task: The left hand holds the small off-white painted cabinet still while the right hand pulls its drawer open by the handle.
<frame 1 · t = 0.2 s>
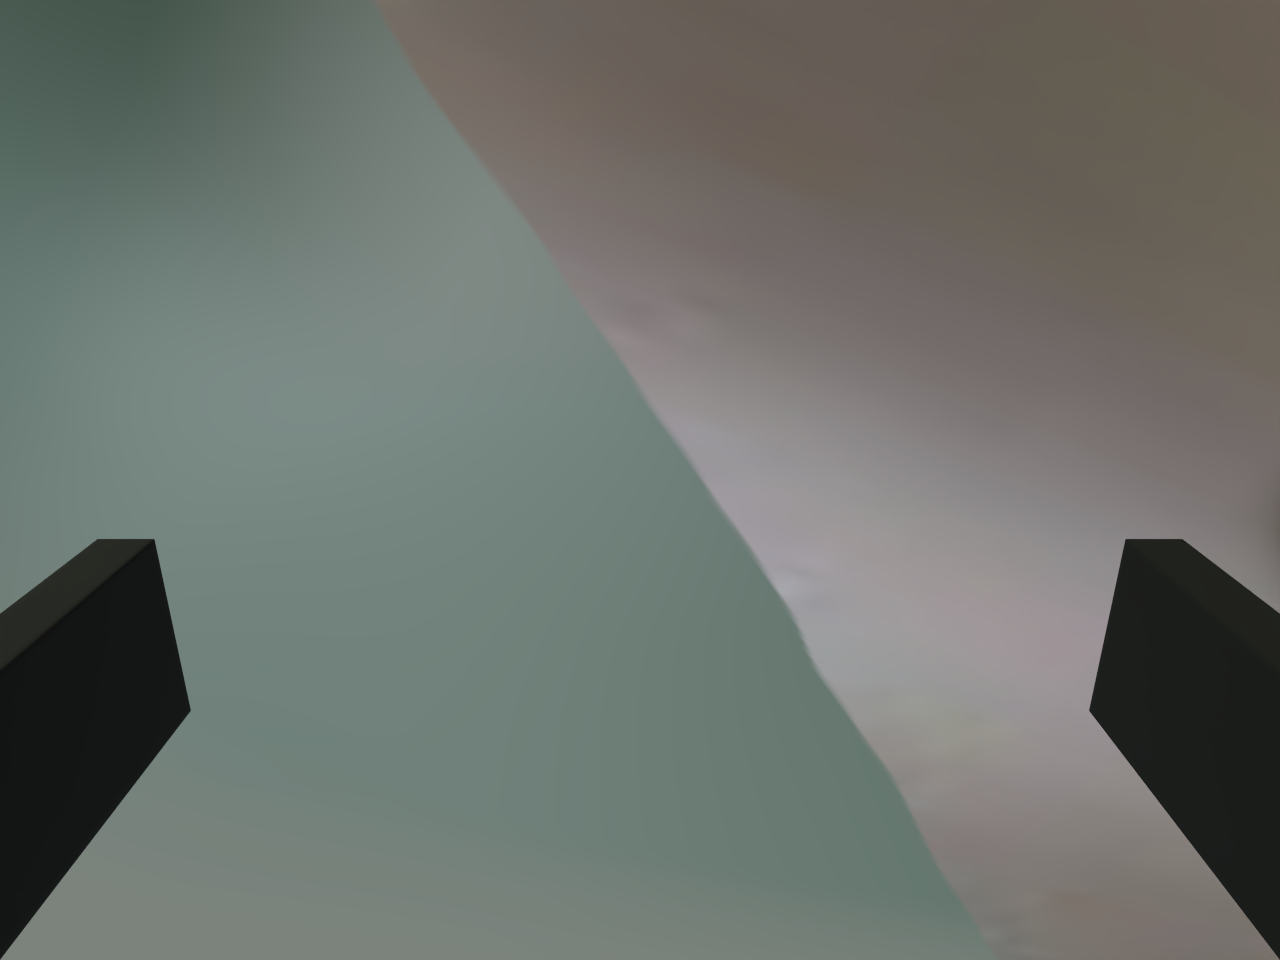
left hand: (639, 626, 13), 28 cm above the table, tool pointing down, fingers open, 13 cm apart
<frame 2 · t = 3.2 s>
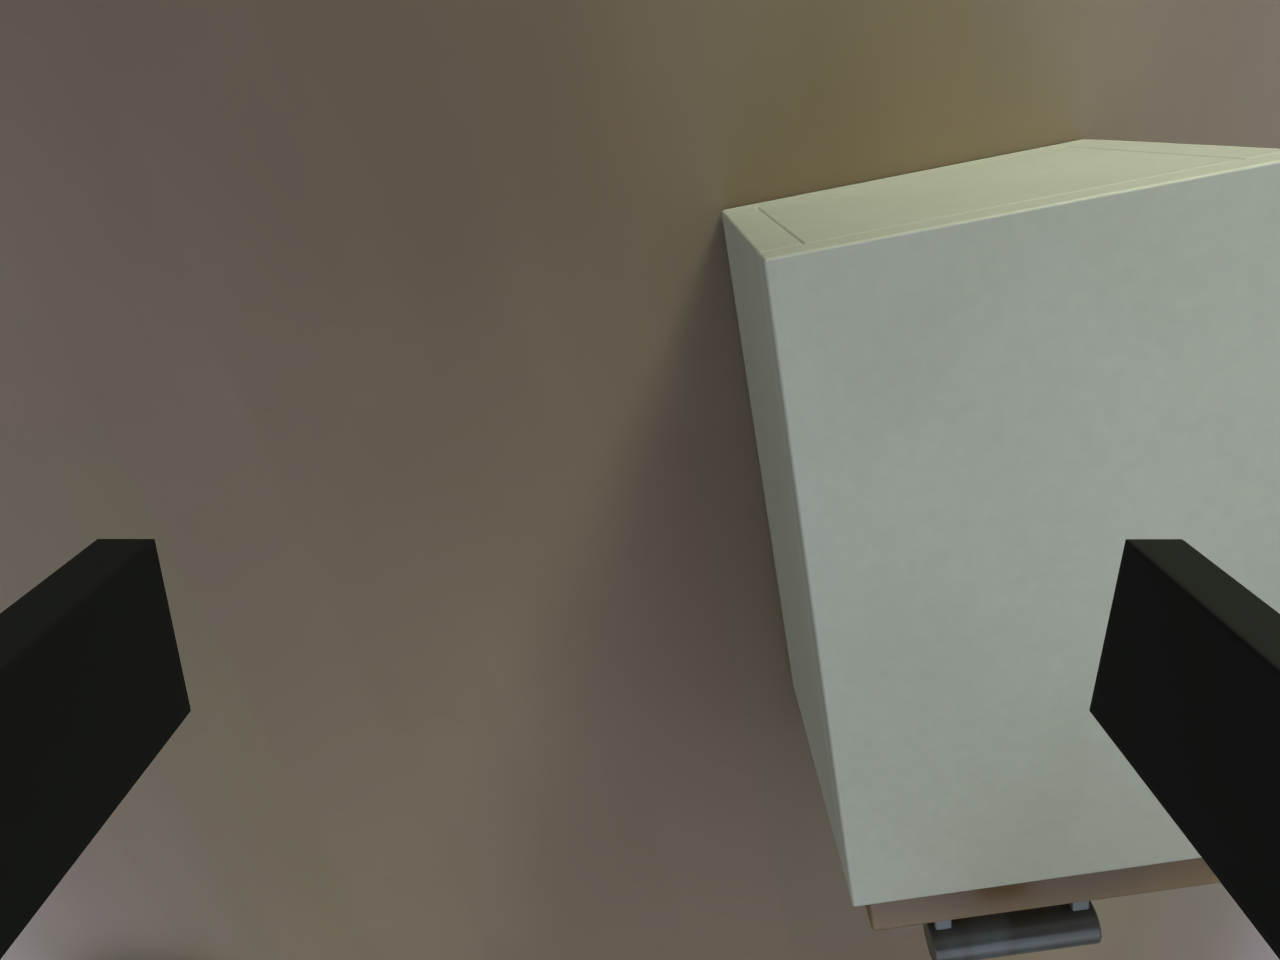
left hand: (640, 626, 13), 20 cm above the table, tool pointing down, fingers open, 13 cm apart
drawer: (984, 661, 29), point 6 cm above the table, slide at 1.0 cm
cabinet: (922, 443, 33), on the table
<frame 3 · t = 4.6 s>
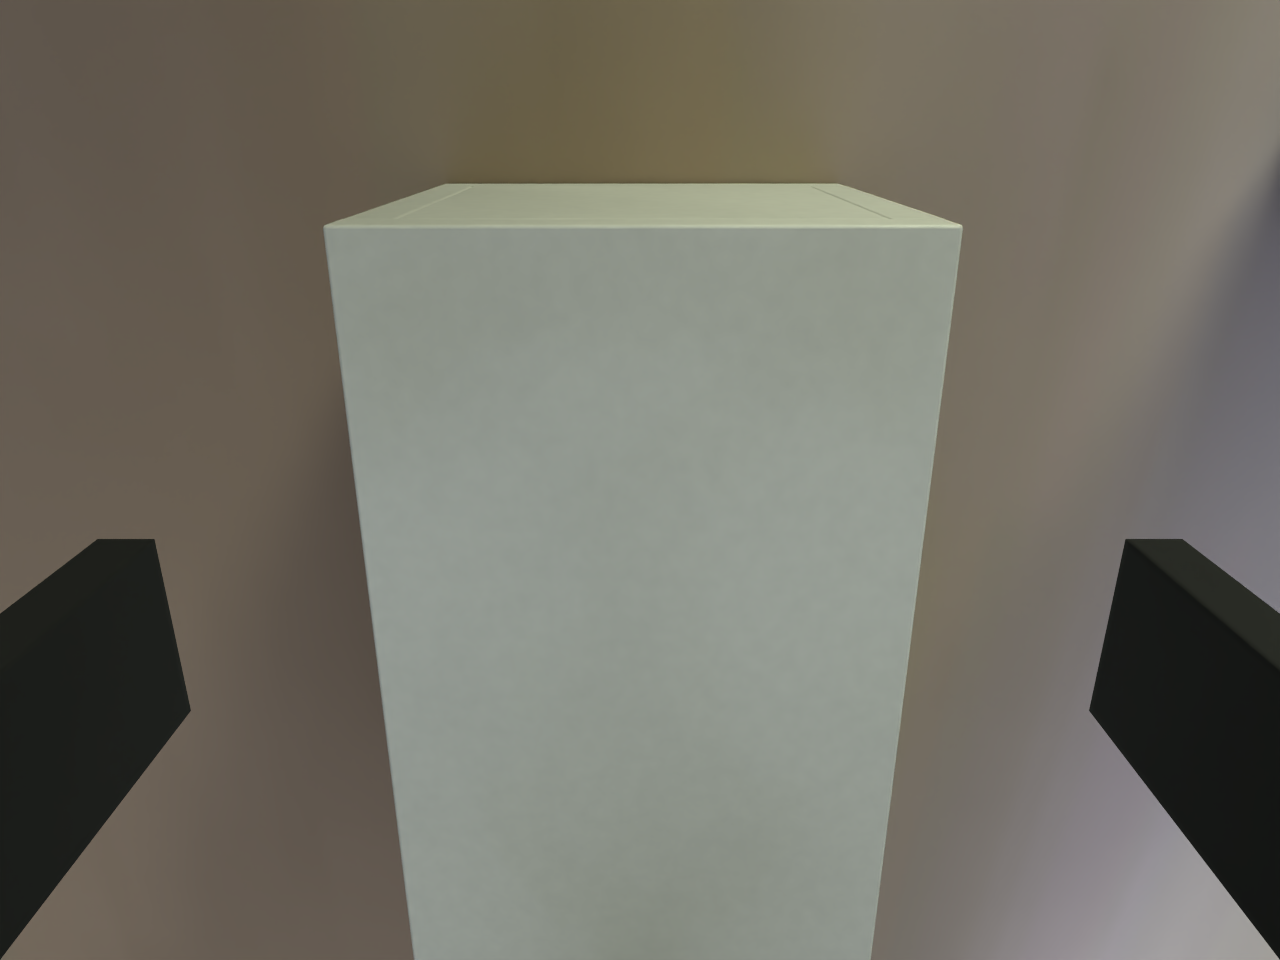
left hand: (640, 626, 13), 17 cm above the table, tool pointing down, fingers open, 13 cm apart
cabinet: (641, 478, 30), on the table
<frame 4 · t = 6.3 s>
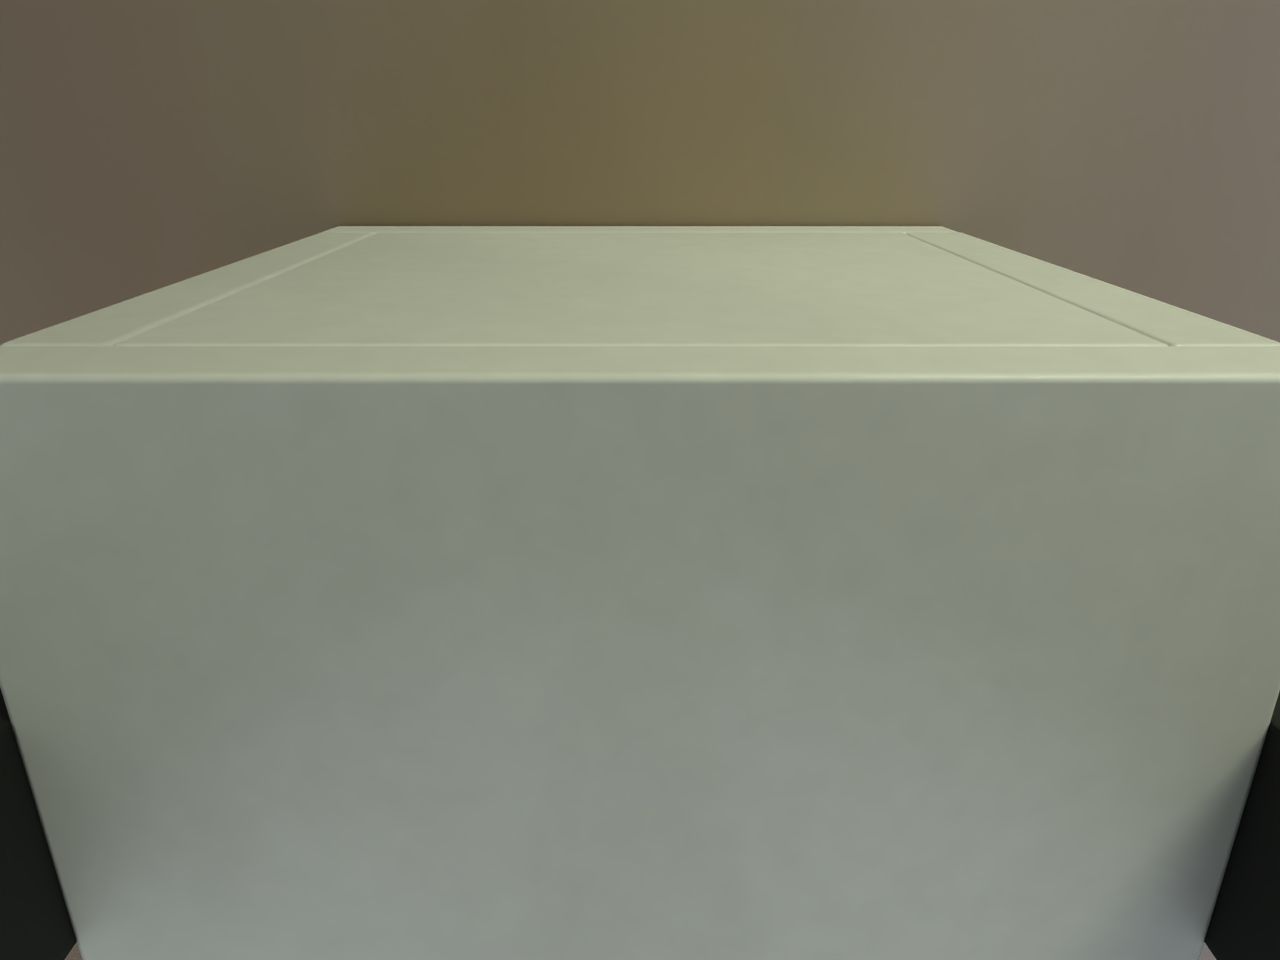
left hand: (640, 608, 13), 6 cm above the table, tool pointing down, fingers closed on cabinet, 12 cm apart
cabinet: (640, 645, 21), on the table, touching left hand
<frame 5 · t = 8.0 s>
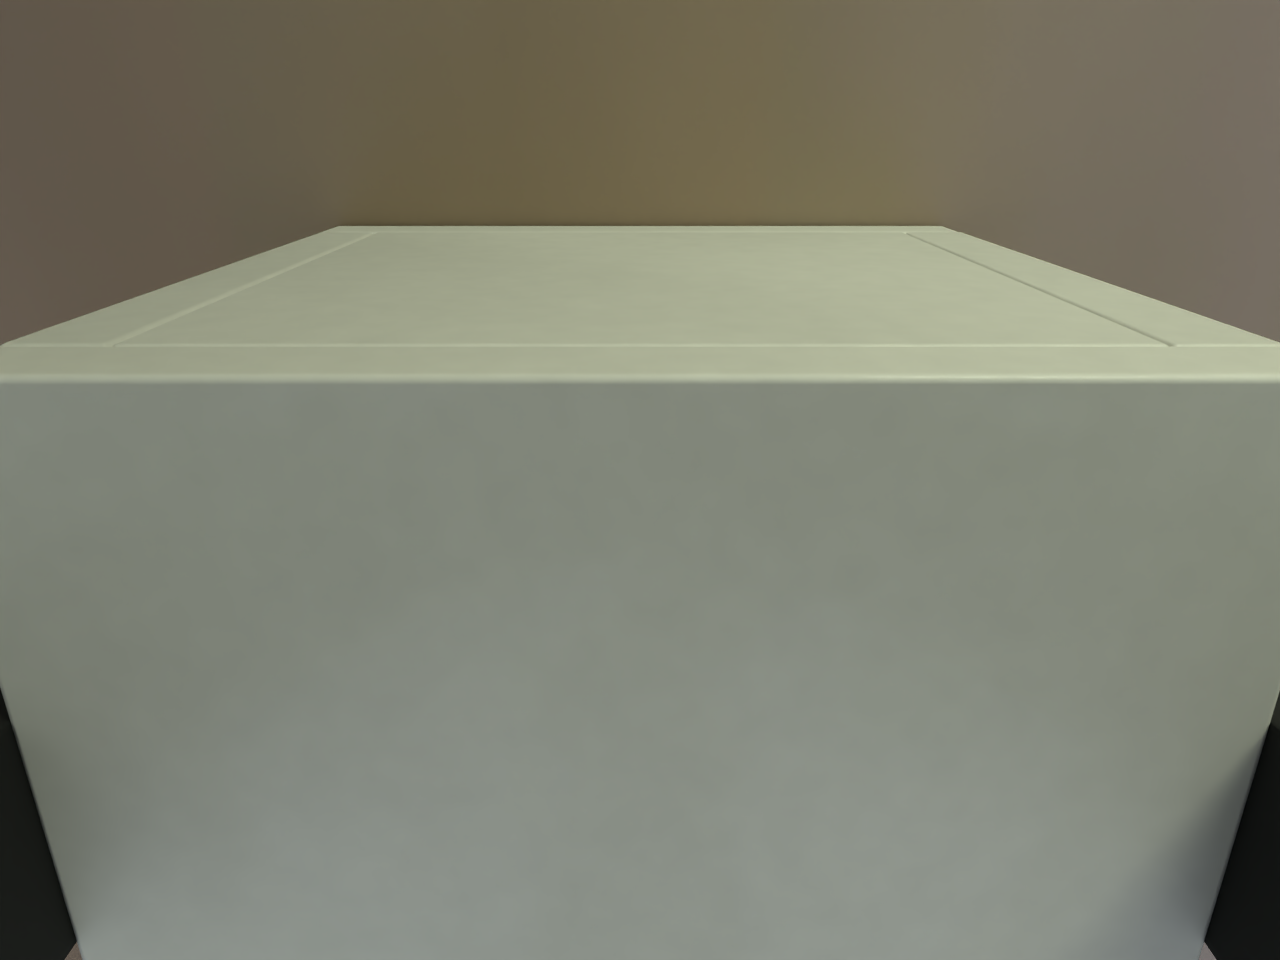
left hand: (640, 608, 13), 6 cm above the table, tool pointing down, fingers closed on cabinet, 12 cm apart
cabinet: (640, 645, 21), on the table, touching left hand
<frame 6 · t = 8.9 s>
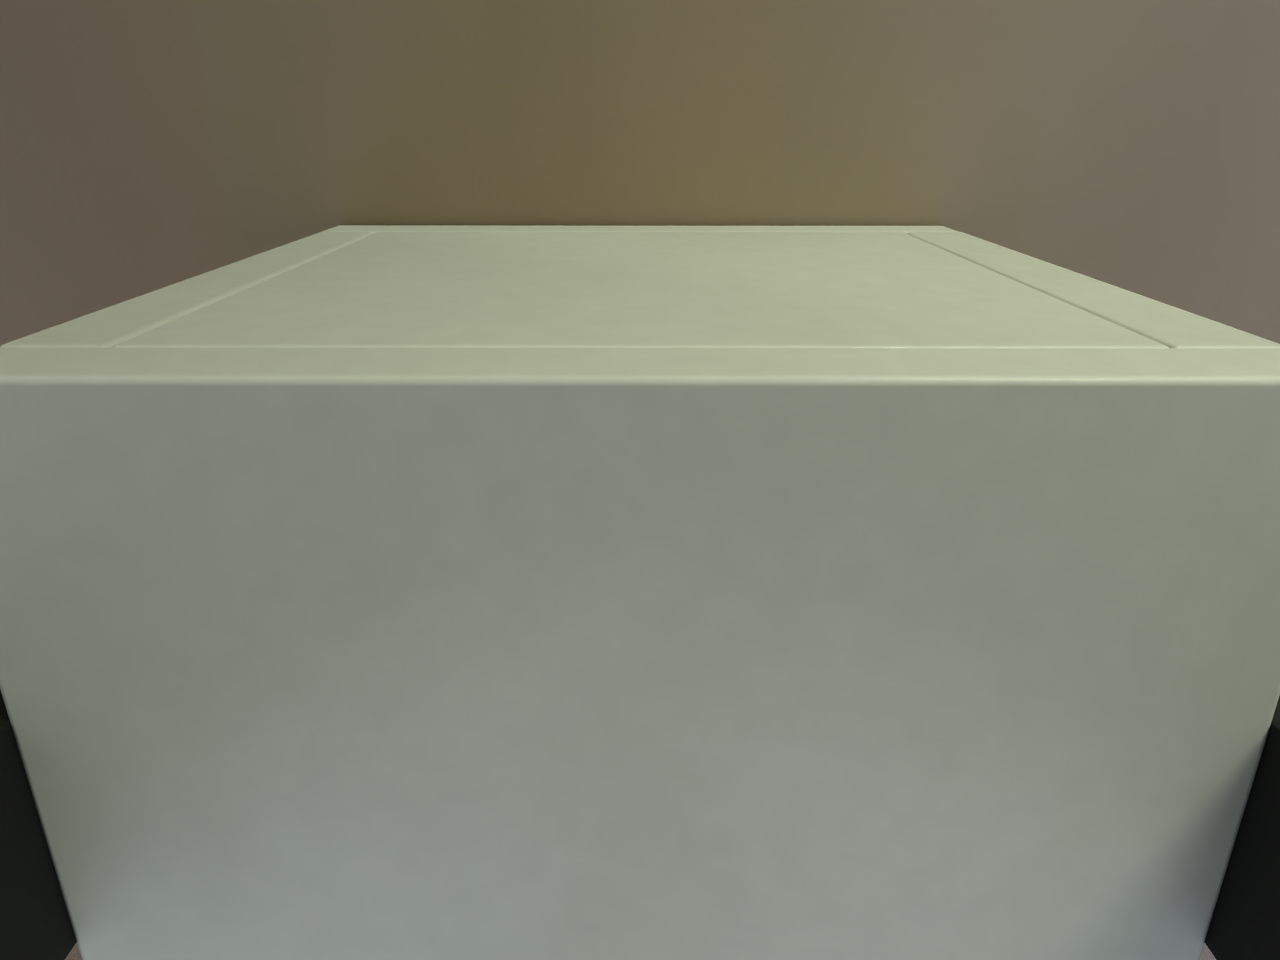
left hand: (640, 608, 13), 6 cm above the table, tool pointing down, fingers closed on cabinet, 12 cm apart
cabinet: (640, 645, 21), on the table, touching left hand
when the left hand's fingers open (6 cm above the table, at t = 10.6 s): cabinet stays where it is, on the table.
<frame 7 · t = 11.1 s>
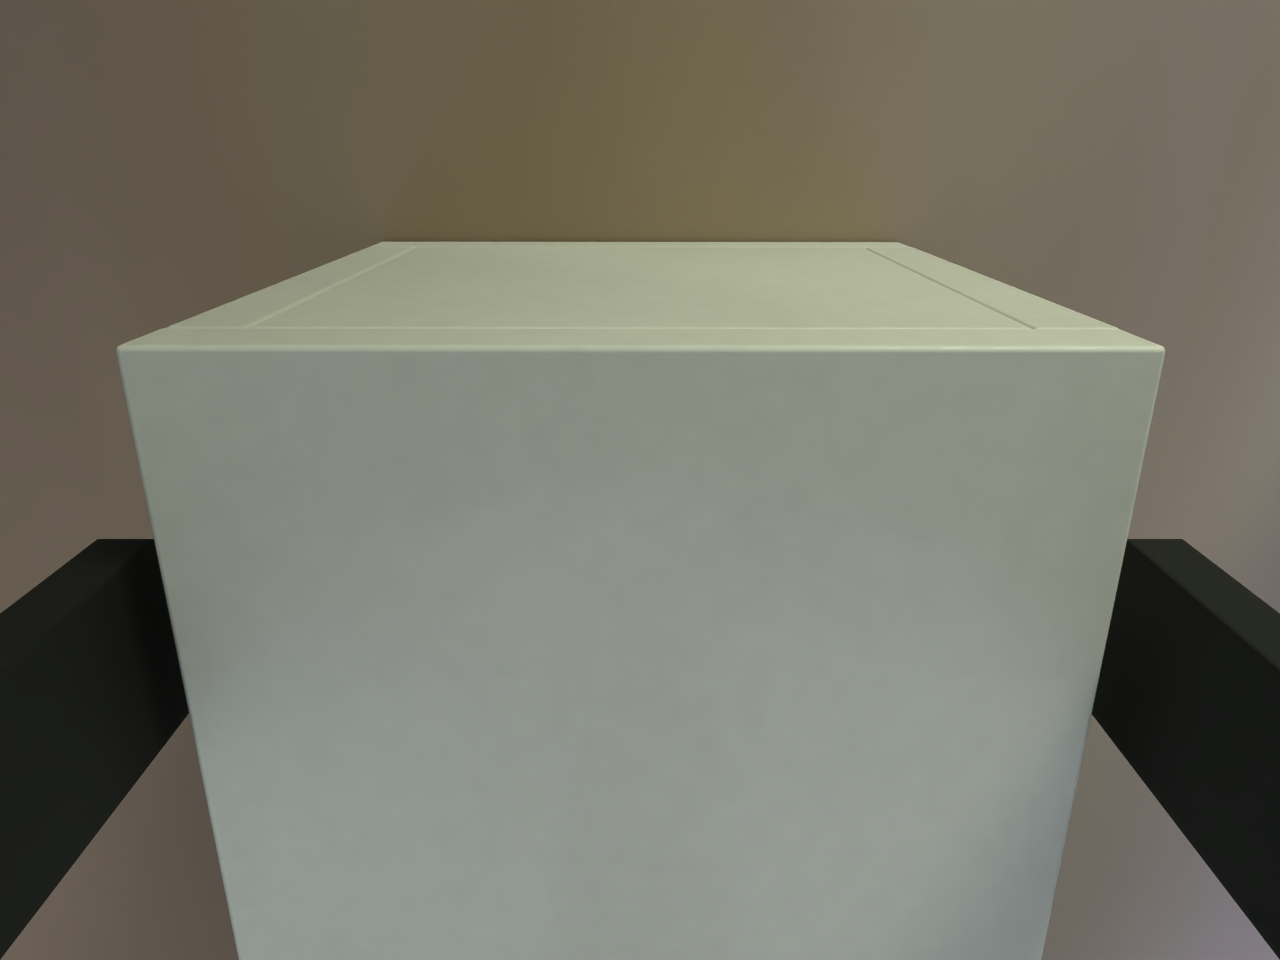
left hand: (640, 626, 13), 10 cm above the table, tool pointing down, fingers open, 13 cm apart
cabinet: (639, 610, 24), on the table
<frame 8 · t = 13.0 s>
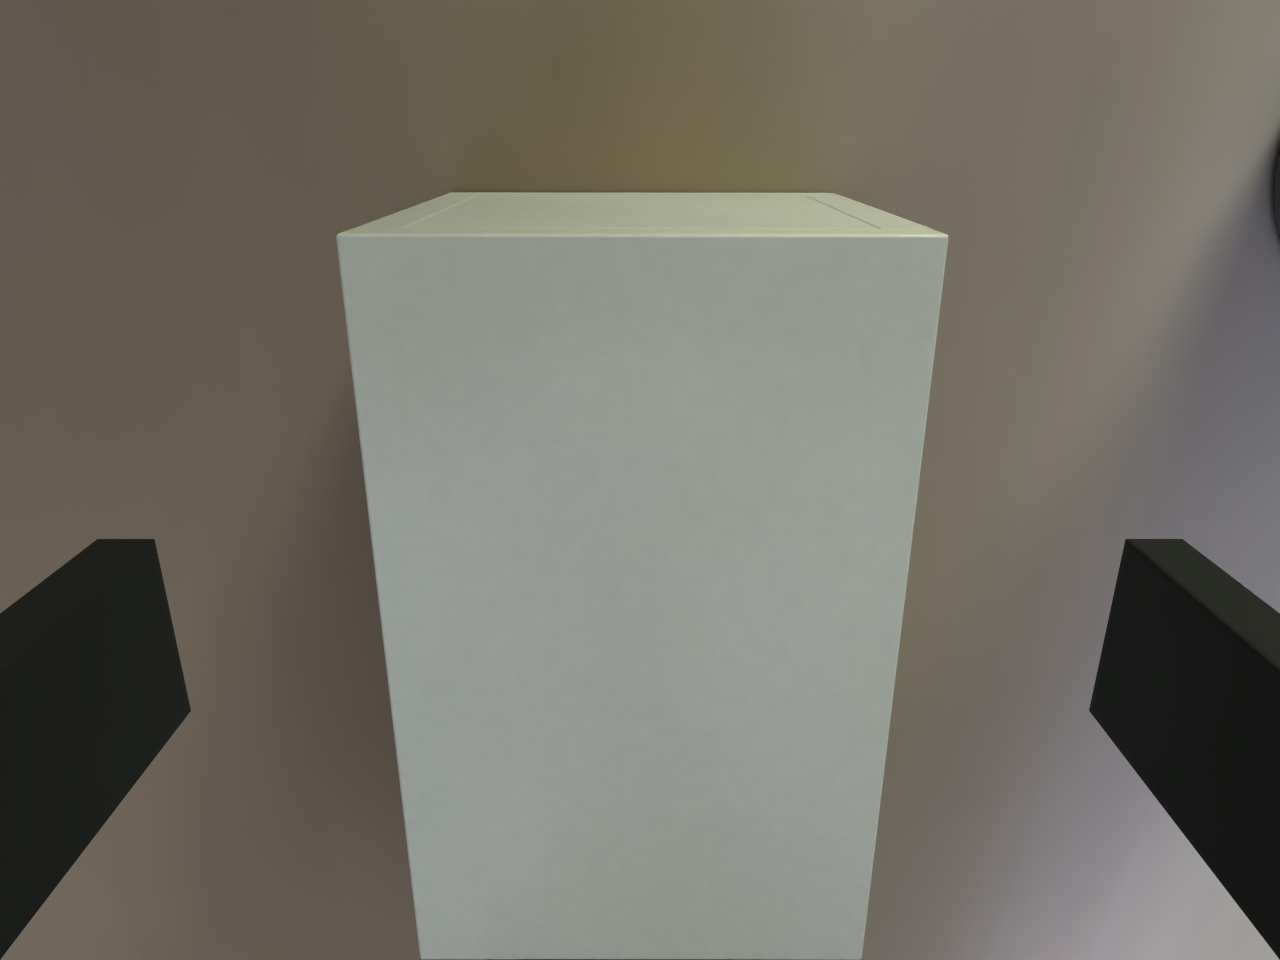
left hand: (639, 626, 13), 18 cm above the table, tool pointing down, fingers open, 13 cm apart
drawer: (640, 841, 29), point 5 cm above the table, slide at 5.8 cm
cabinet: (641, 479, 31), on the table
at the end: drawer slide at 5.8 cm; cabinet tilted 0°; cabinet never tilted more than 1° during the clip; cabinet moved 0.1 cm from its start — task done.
